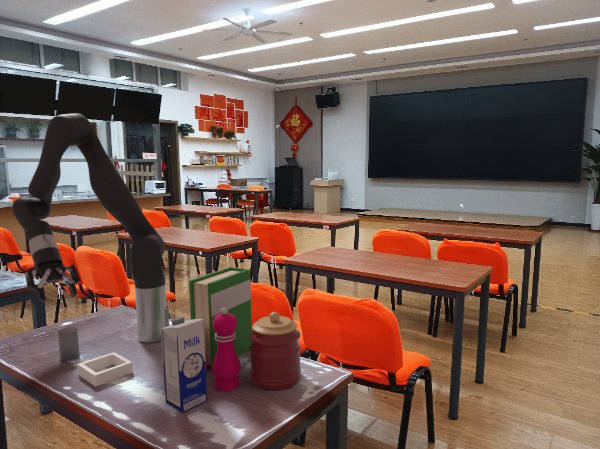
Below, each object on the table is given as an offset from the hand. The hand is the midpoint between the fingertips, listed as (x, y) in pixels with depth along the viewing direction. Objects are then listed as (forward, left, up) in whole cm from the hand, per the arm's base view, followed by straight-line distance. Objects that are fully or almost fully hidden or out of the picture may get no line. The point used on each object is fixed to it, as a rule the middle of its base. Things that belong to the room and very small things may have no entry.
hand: (59, 298), depth 136 cm
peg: (-1, +8, -15) cm, 18 cm away
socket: (-9, +25, -15) cm, 31 cm away
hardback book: (-40, +30, -16) cm, 53 cm away
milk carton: (-24, +50, -16) cm, 58 cm away
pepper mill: (-35, +47, -16) cm, 61 cm away
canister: (-47, +50, -16) cm, 71 cm away
